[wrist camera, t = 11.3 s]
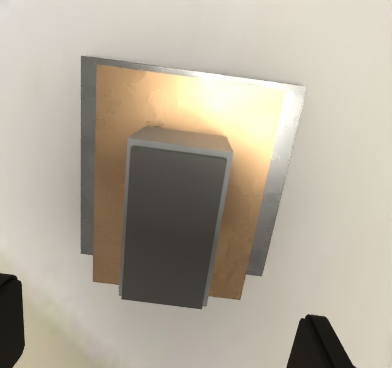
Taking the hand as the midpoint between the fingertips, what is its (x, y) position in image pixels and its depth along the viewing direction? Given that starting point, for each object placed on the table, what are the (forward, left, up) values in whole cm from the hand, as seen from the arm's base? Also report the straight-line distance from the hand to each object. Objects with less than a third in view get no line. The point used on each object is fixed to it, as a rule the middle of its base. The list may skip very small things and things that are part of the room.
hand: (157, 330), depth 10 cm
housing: (+1, 0, -10) cm, 10 cm away
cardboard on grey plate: (+1, 0, -15) cm, 15 cm away
